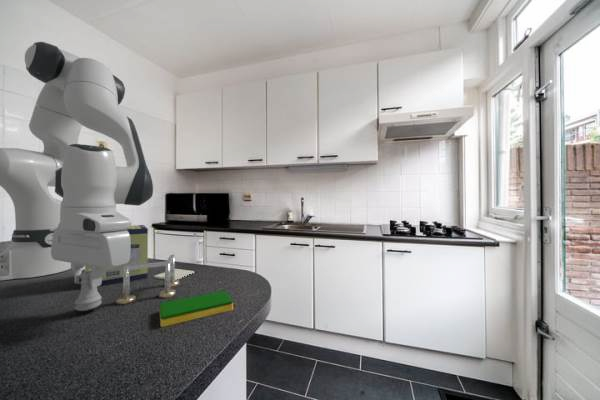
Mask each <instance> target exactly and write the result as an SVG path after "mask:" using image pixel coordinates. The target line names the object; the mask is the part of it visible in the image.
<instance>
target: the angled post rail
mask: <svg viewBox="0 0 600 400" xmlns="http://www.w3.org/2000/svg"><path fill="white" fill-rule="evenodd" d="M175 263H176V257H175V254H170V255H169V256H168V258H167V260H166V261H157V262H148V263H144V264H134V265H126V266H125V267H124V268H123V282H122V289H123V290H122V296H120V297H117V298H116V304H117V305H118V306H119V305H120V306H124V305H128V304H131V303H134V302H135V301H136V299H137V298H136V295H135V294H130V285H131V284H130V282H131V281H130V269H140V268H158V267H160V268H161V267H164V272H165V279H164V290H161V291H160V292H159V293H158V297H159V298H160V299H168V298H173V297H174V296H176V290H175V289H171V288H172V287H176V286H179V285H180V280H179V279H178V280H175V269H176V268H175V267H176V264H175Z"/></svg>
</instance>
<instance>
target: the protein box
mask: <svg viewBox="0 0 600 400" xmlns="http://www.w3.org/2000/svg"><path fill="white" fill-rule="evenodd" d="M127 231H128V232H129V234H130V239H131V248H130V260H129V262H128V264H127V265H134V264H144V263H149V262H148V261H149V259H148V257H149V256H148V255H149V253H148V252H149V244H148V243H149V240H148V239H149V228H148V227H146V226H145V225H144V224H137V225H135V224H134V225H131V229H127ZM124 267H125V266H124ZM124 267H121V268H117V269H113V270H107V269H106V270H105V272H104V274H103V276H102V283H101V285H100V286H99V287H102V286H109V285H114V284H120V283H123V268H124ZM88 268H91V266H85V269H86V271H87V269H88ZM90 270H91V269H90ZM148 270H149V269H148V268H140V269H130V282H132V281H137V280H143V278H144V279H147V278H148V277H149V276H148V273H149V272H148Z"/></svg>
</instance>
